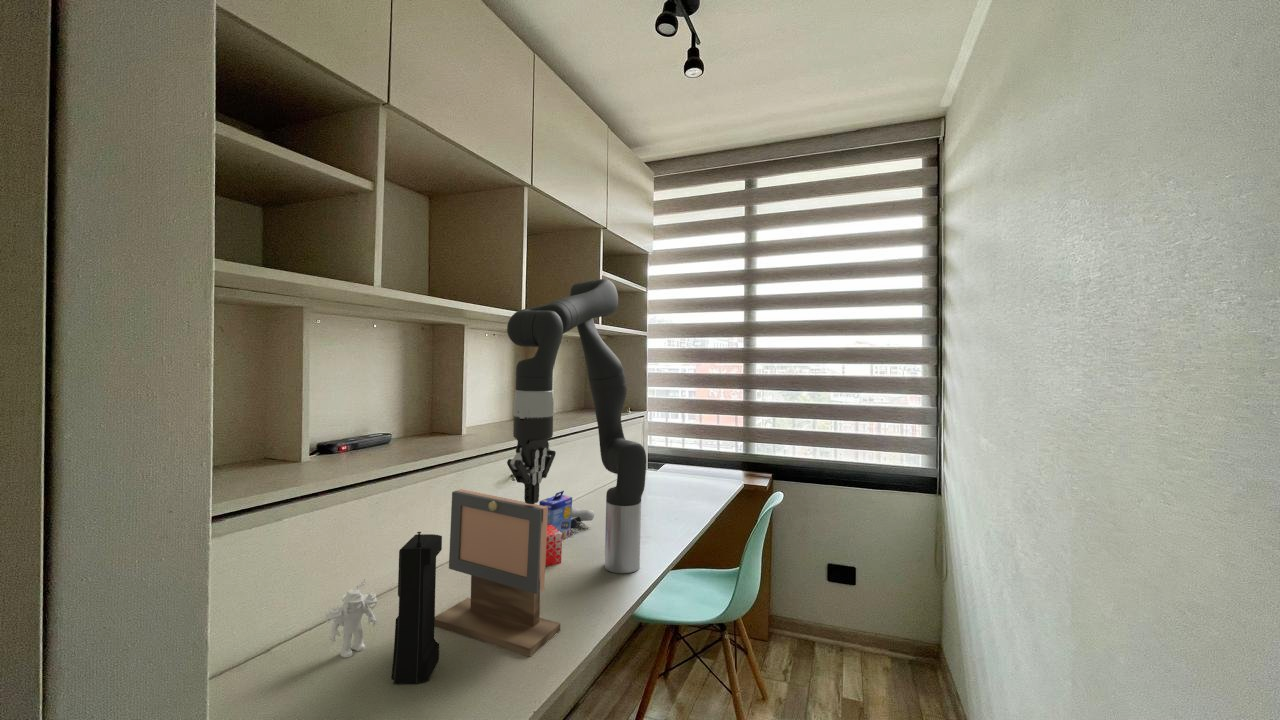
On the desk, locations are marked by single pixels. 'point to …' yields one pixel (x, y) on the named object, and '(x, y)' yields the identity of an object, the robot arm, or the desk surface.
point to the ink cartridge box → (559, 512)
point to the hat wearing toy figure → (352, 619)
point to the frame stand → (500, 617)
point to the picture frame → (498, 539)
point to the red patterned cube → (553, 546)
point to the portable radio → (416, 611)
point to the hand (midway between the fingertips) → (531, 502)
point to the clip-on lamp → (580, 517)
